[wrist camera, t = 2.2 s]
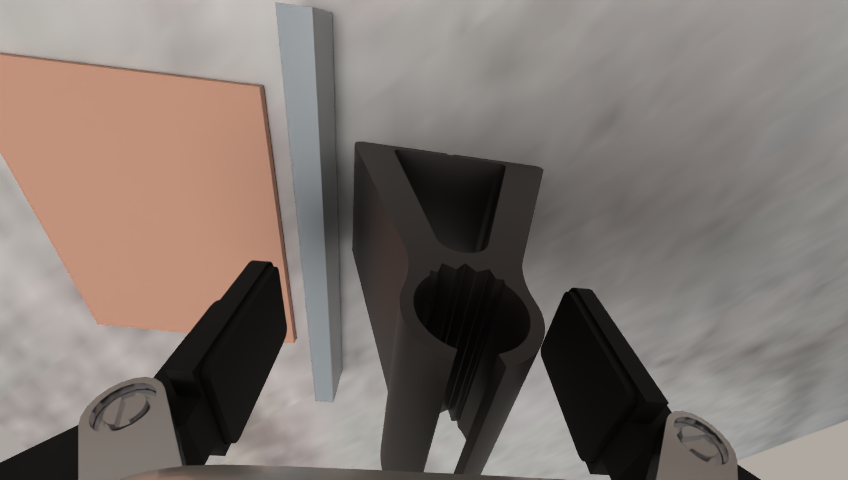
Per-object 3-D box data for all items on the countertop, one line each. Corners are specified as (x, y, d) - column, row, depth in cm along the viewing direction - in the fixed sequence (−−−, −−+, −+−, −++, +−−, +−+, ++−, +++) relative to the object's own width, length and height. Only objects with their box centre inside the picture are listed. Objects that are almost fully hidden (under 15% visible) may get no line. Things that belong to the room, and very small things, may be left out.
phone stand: (541, 166, 16) (731, 392, 6) (508, 265, 19) (593, 526, 9) (356, 139, 16) (209, 332, 5) (353, 245, 19) (255, 495, 8)
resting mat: (263, 85, 14) (259, 87, 14) (296, 338, 23) (294, 343, 22) (-47, 47, 14) (-59, 47, 14) (102, 319, 22) (97, 324, 22)
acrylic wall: (332, 12, 13) (312, 7, 11) (342, 370, 24) (333, 402, 22) (301, 8, 13) (275, 2, 11) (325, 369, 24) (315, 400, 22)
